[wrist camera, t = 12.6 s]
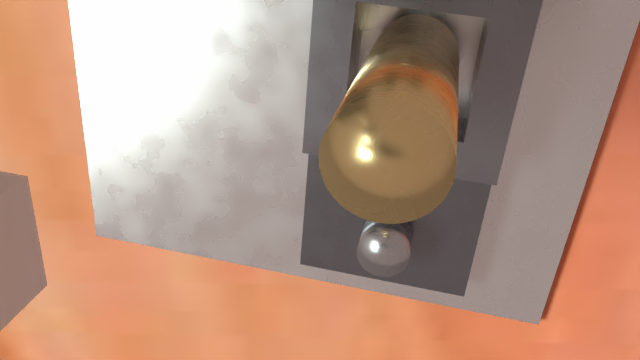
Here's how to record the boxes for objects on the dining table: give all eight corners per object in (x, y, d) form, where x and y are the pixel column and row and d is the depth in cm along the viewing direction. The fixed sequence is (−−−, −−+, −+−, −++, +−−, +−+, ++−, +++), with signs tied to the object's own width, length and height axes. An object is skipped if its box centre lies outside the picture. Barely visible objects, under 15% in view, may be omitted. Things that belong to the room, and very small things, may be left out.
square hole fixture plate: (34, -339, 24) (-73, -395, 19) (746, -315, 20) (835, -378, 15) (100, 231, 37) (46, 282, 32) (537, 318, 33) (550, 392, 28)
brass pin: (378, 9, 27) (323, 88, 16) (467, 19, 26) (469, 110, 16) (368, 91, 29) (313, 211, 18) (450, 103, 28) (442, 234, 17)
